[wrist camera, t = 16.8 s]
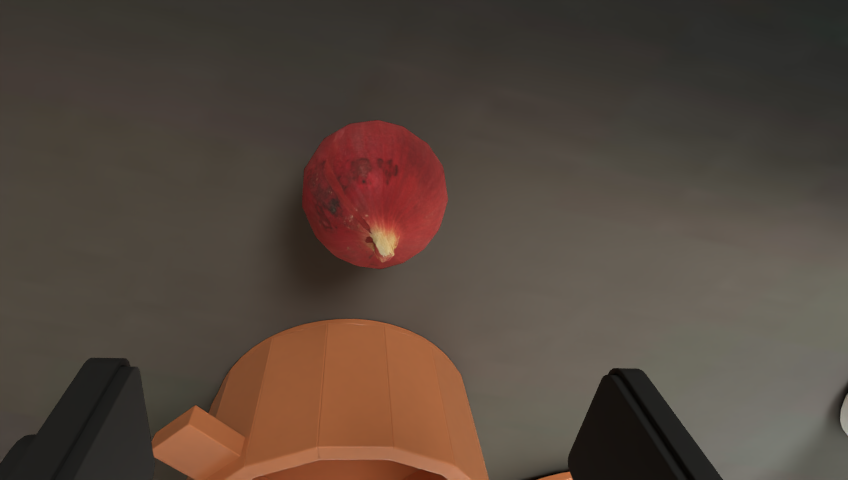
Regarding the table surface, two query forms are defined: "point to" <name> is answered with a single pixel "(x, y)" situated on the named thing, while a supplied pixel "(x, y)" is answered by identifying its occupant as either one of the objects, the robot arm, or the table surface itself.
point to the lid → (558, 477)
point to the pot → (332, 411)
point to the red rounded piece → (374, 194)
